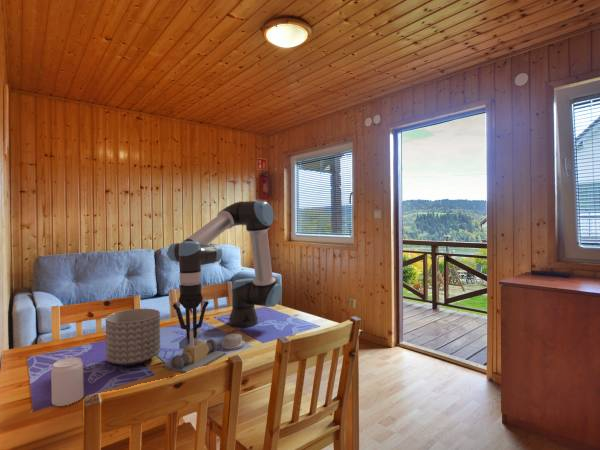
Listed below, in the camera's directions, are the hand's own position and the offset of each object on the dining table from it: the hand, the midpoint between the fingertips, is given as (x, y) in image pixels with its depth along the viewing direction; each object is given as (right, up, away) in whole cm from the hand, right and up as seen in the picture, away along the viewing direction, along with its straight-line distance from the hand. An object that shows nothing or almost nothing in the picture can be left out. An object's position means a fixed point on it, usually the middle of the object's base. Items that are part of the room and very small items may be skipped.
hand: (192, 346), depth 129 cm
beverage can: (-31, -9, -22) cm, 39 cm away
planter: (-25, -8, +7) cm, 27 cm away
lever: (-2, +1, +2) cm, 3 cm away
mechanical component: (+11, -8, +24) cm, 27 cm away
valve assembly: (-1, -8, +8) cm, 11 cm away
